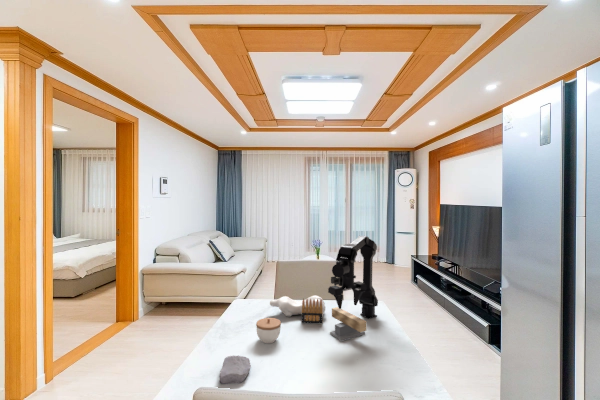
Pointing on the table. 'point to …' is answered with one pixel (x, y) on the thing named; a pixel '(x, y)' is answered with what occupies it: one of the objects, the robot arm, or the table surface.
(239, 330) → the table surface
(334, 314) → the beam
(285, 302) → the torso sculpture
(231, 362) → the stone block
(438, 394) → the table surface
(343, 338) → the grey stepped block
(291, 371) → the table surface
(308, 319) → the ammunition clip
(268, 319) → the lidded jar
